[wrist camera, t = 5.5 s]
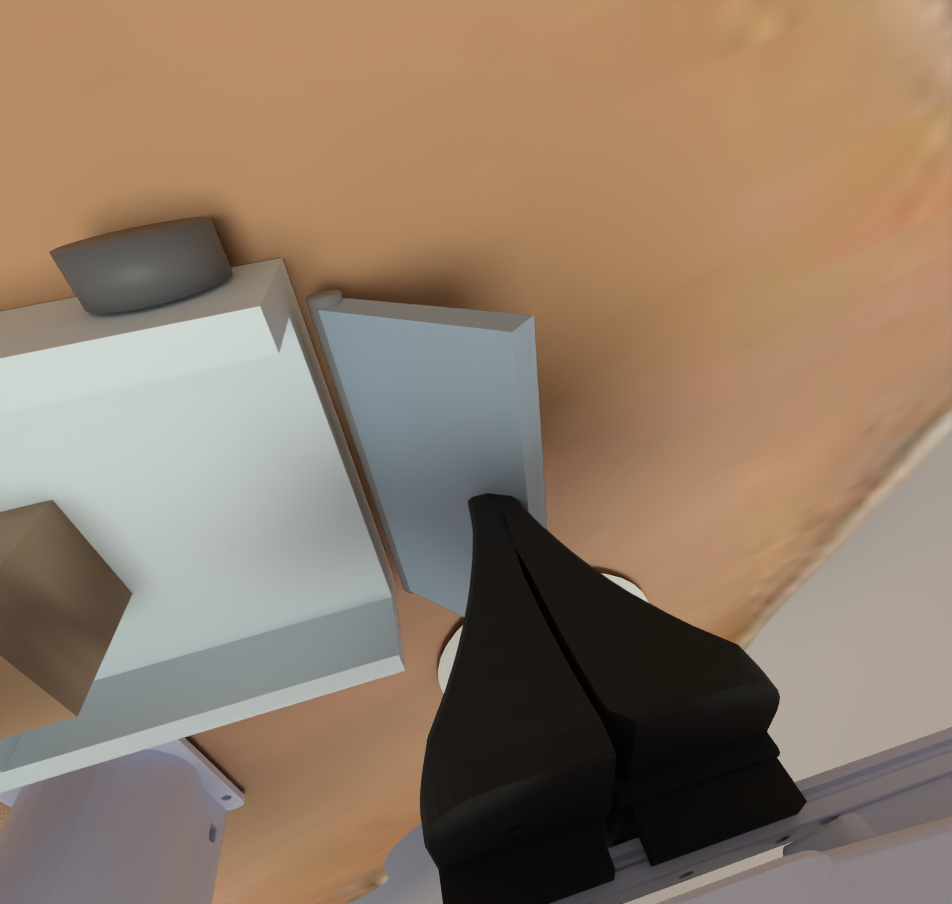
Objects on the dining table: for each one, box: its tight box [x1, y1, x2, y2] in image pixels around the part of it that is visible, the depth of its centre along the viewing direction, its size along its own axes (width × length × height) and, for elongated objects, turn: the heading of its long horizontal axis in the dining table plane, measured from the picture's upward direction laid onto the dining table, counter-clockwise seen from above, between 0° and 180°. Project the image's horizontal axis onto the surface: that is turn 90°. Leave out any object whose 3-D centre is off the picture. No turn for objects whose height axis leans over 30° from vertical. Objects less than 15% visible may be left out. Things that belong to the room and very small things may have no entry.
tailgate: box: [306, 290, 547, 617], centre depth 14 cm, size 11×6×1 cm
